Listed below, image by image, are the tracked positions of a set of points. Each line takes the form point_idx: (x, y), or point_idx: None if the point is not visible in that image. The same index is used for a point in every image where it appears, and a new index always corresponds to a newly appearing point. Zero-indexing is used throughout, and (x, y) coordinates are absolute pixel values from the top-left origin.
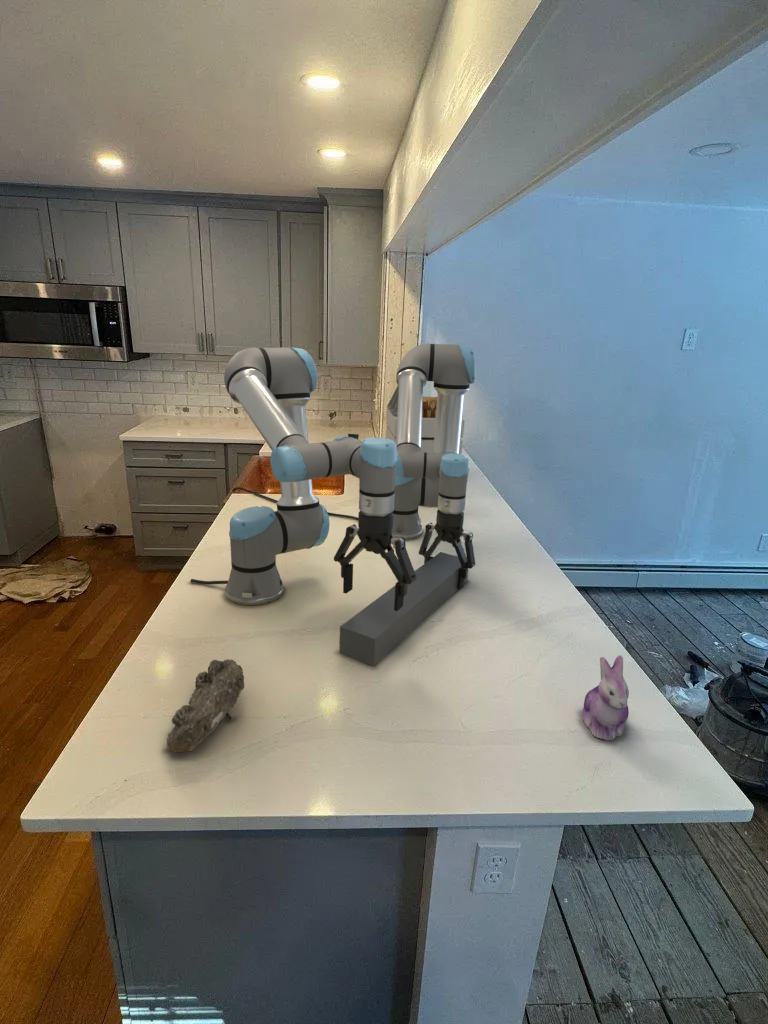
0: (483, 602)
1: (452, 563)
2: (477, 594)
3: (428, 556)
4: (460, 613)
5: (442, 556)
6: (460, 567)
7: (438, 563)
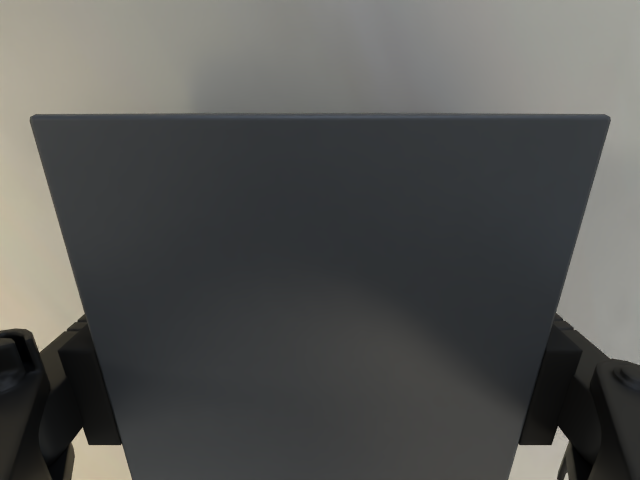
0: (621, 332)
1: (402, 383)
2: (570, 264)
3: (69, 466)
4: (517, 474)
5: (177, 270)
6: (529, 420)
7: (258, 461)
